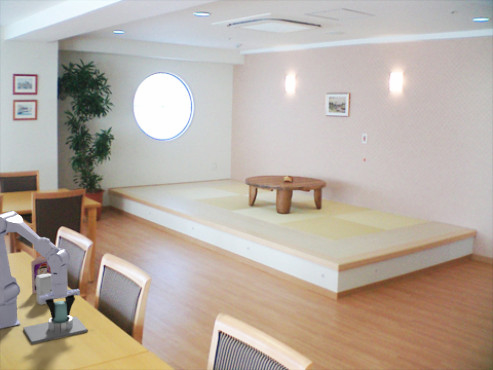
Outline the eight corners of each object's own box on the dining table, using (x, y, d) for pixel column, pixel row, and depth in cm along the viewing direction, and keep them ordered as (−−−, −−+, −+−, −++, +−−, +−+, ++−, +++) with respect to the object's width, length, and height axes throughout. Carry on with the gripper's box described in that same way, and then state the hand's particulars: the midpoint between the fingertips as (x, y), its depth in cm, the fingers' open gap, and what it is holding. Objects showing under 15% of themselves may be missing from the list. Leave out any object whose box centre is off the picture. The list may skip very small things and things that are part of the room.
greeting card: (33, 294, 235) (32, 262, 233) (24, 290, 240) (23, 258, 237) (56, 287, 244) (55, 256, 242) (47, 284, 249) (46, 253, 246)
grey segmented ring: (52, 333, 195) (51, 325, 194) (46, 325, 202) (45, 317, 201) (75, 328, 200) (75, 320, 199) (68, 320, 207) (68, 313, 206)
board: (32, 344, 188) (32, 341, 188) (23, 329, 200) (23, 327, 200) (87, 331, 200) (87, 329, 200) (76, 318, 211) (76, 316, 211)
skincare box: (40, 305, 223) (39, 278, 222) (36, 302, 227) (35, 275, 225) (54, 301, 228) (53, 275, 226) (50, 298, 231) (49, 272, 229)
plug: (55, 326, 197) (55, 306, 196) (52, 322, 201) (51, 302, 200) (69, 324, 200) (68, 304, 199) (65, 319, 204) (64, 299, 203)
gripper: (42, 288, 191) (43, 324, 193) (81, 281, 199) (82, 315, 201) (37, 282, 196) (38, 317, 198) (76, 276, 204) (77, 309, 207)
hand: (60, 316), depth 200 cm, fingers closed on plug, 5 cm apart
